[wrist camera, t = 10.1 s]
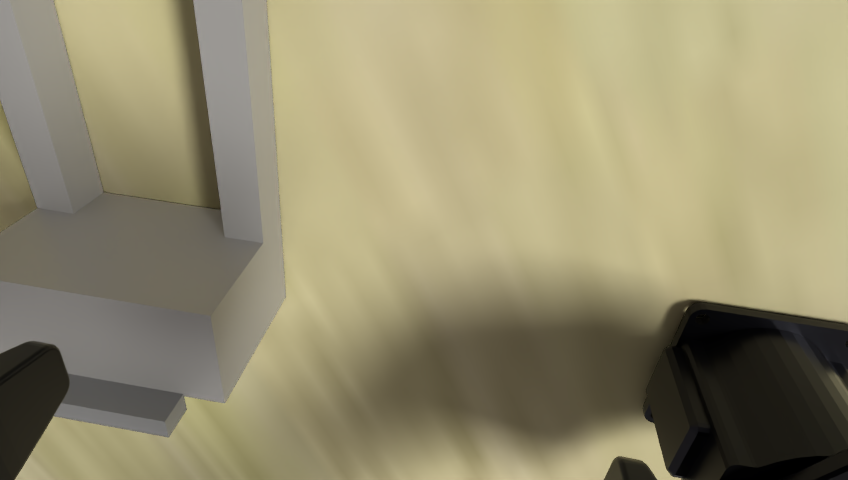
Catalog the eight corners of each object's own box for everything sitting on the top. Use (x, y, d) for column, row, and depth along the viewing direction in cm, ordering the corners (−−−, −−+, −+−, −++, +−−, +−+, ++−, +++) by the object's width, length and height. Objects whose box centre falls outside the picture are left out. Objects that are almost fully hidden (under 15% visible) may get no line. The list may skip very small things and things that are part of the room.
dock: (254, -192, 15) (74, -251, 9) (286, 309, 24) (211, 445, 18) (-53, -222, 15) (-416, -295, 9) (96, 277, 25) (-37, 399, 19)
